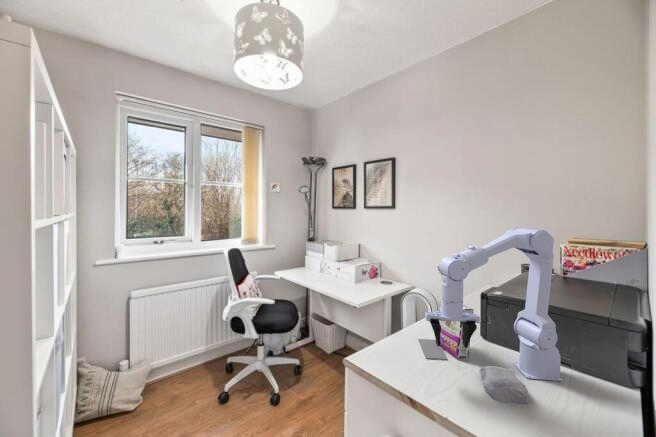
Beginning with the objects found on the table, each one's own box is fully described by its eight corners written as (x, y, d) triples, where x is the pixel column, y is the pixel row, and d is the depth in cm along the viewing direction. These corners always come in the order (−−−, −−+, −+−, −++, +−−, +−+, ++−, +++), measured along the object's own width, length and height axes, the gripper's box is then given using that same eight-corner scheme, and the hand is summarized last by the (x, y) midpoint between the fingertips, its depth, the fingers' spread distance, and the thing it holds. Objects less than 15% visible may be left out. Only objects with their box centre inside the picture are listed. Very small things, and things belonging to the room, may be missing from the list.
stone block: (491, 408, 72) (533, 405, 70) (487, 389, 72) (529, 387, 70) (476, 381, 84) (512, 378, 82) (473, 365, 84) (509, 362, 82)
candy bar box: (469, 357, 92) (474, 309, 92) (457, 358, 91) (462, 309, 90) (445, 341, 103) (450, 298, 103) (434, 342, 102) (439, 298, 101)
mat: (437, 340, 104) (437, 339, 104) (447, 360, 91) (447, 359, 91) (418, 339, 105) (418, 338, 105) (425, 358, 92) (425, 357, 92)
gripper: (473, 295, 83) (472, 339, 83) (423, 294, 85) (422, 337, 85) (483, 304, 76) (482, 352, 76) (428, 302, 78) (427, 349, 78)
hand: (451, 345), depth 80 cm, fingers open, 7 cm apart
